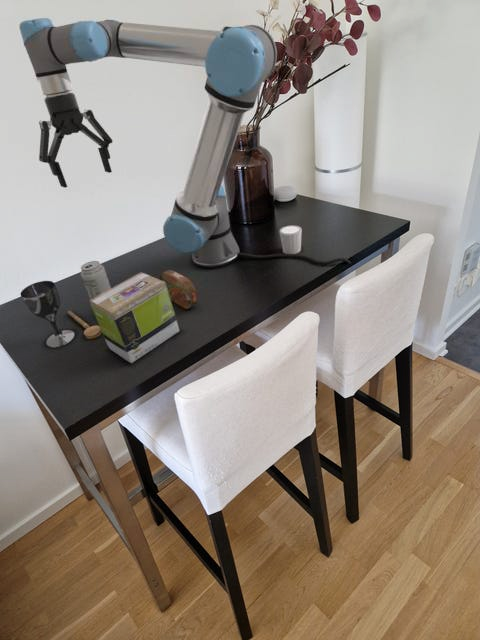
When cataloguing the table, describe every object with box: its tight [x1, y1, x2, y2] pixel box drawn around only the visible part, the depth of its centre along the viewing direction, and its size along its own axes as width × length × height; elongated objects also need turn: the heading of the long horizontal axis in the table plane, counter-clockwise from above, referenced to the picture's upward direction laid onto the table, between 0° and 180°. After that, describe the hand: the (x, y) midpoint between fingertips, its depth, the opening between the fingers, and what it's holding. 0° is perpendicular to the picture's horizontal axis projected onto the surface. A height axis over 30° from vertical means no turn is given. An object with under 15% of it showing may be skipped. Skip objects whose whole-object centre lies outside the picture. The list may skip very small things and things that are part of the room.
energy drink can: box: [80, 260, 112, 300], centre depth 114 cm, size 6×6×15 cm
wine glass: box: [20, 280, 75, 348], centre depth 107 cm, size 8×8×15 cm
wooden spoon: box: [67, 310, 103, 340], centre depth 115 cm, size 17×4×1 cm, turn 42°
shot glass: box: [279, 225, 303, 254], centre depth 133 cm, size 7×7×7 cm
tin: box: [159, 269, 198, 310], centre depth 116 cm, size 15×3×8 cm, turn 40°
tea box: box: [89, 271, 180, 364], centre depth 101 cm, size 15×10×15 cm, turn 136°
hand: (87, 179), depth 119 cm, fingers open, 13 cm apart
